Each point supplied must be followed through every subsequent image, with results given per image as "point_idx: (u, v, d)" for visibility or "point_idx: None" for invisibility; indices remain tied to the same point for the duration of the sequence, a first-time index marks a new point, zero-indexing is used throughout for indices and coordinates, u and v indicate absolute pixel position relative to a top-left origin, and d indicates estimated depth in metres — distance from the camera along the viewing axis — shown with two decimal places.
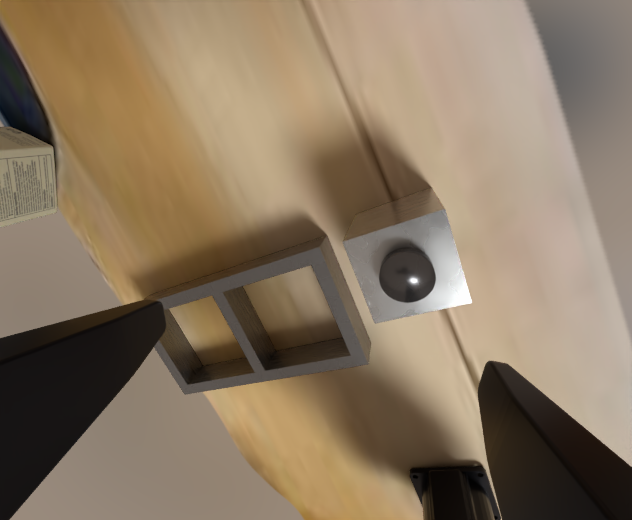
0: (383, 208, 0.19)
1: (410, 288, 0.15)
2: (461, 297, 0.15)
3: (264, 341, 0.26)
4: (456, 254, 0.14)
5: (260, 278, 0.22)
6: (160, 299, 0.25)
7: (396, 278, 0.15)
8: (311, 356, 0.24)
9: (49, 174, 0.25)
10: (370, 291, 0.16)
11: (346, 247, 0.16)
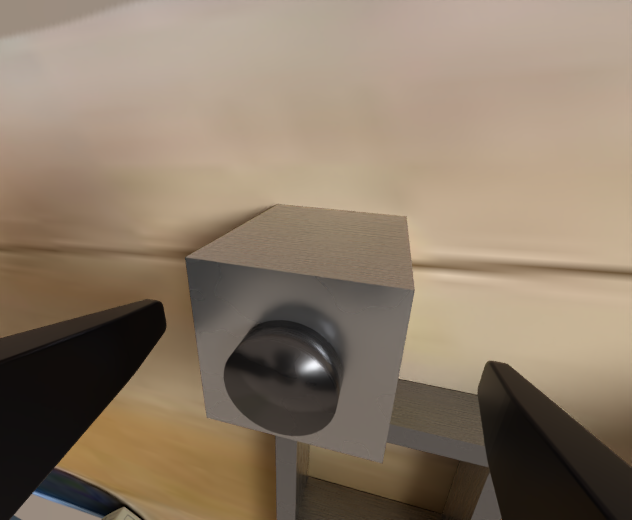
0: None
1: (302, 396, 0.07)
2: (389, 304, 0.06)
3: None
4: (280, 274, 0.06)
5: (293, 479, 0.14)
6: None
7: (271, 405, 0.07)
8: (465, 503, 0.13)
9: None
10: None
11: (217, 418, 0.09)
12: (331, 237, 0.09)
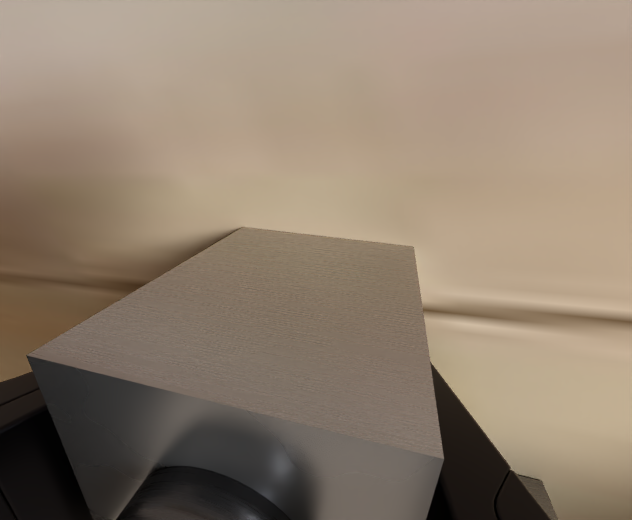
0: None
1: None
2: (392, 474, 0.03)
3: None
4: (185, 400, 0.03)
5: None
6: None
7: None
8: None
9: None
10: None
11: None
12: (301, 293, 0.06)
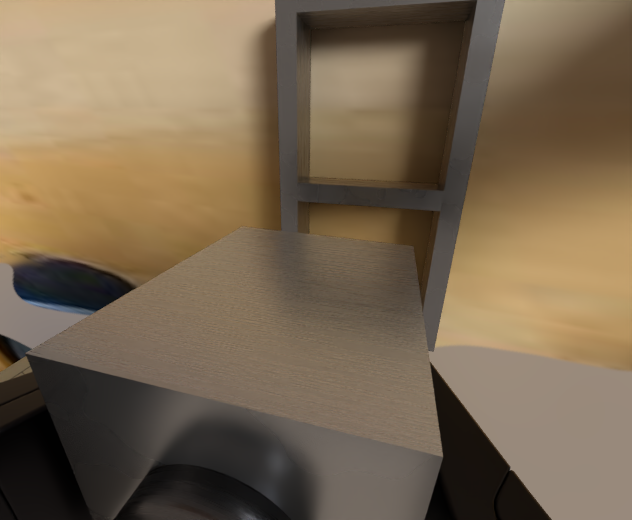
0: None
1: None
2: (391, 471, 0.03)
3: (407, 184, 0.17)
4: (184, 398, 0.03)
5: (294, 110, 0.15)
6: None
7: None
8: (457, 99, 0.14)
9: None
10: None
11: None
12: (301, 292, 0.06)
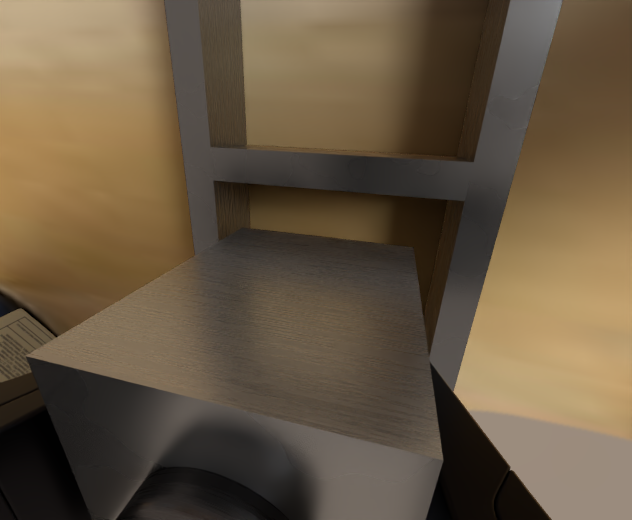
0: None
1: None
2: (391, 475, 0.03)
3: (405, 154, 0.10)
4: (184, 401, 0.03)
5: (192, 4, 0.08)
6: None
7: None
8: None
9: (42, 337, 0.18)
10: None
11: None
12: (300, 293, 0.06)
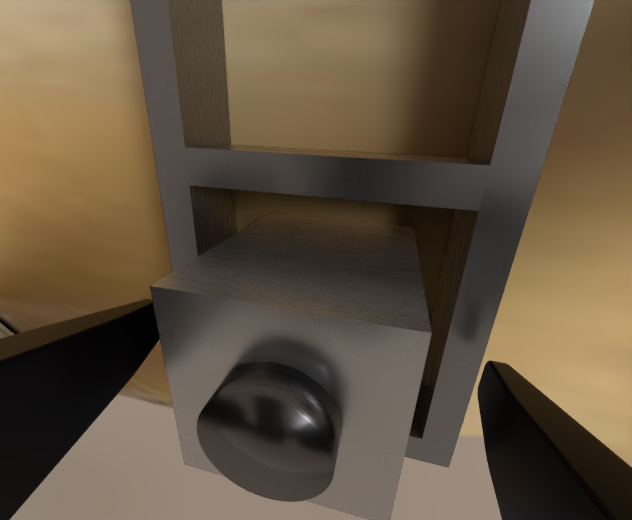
0: None
1: (291, 458, 0.05)
2: (399, 348, 0.05)
3: (408, 156, 0.09)
4: (264, 308, 0.05)
5: None
6: None
7: (255, 466, 0.06)
8: None
9: None
10: None
11: (195, 465, 0.08)
12: (328, 255, 0.07)
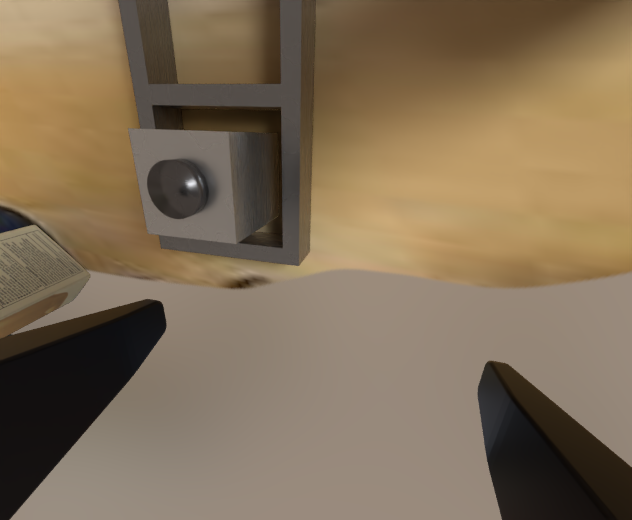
0: None
1: (183, 191, 0.14)
2: (220, 141, 0.13)
3: None
4: (172, 131, 0.13)
5: (133, 2, 0.15)
6: None
7: (171, 200, 0.14)
8: None
9: (50, 245, 0.25)
10: (199, 231, 0.15)
11: (153, 232, 0.16)
12: None
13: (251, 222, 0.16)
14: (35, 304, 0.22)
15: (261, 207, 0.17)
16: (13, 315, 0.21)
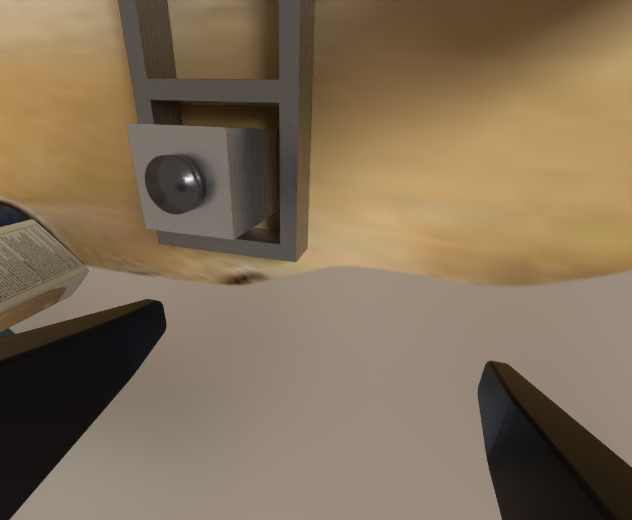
0: None
1: (180, 186, 0.14)
2: (217, 136, 0.13)
3: None
4: (169, 126, 0.13)
5: None
6: None
7: (168, 195, 0.14)
8: None
9: (48, 239, 0.25)
10: (196, 227, 0.15)
11: (150, 227, 0.16)
12: None
13: (249, 218, 0.16)
14: (33, 298, 0.22)
15: (258, 203, 0.17)
16: (10, 309, 0.21)
